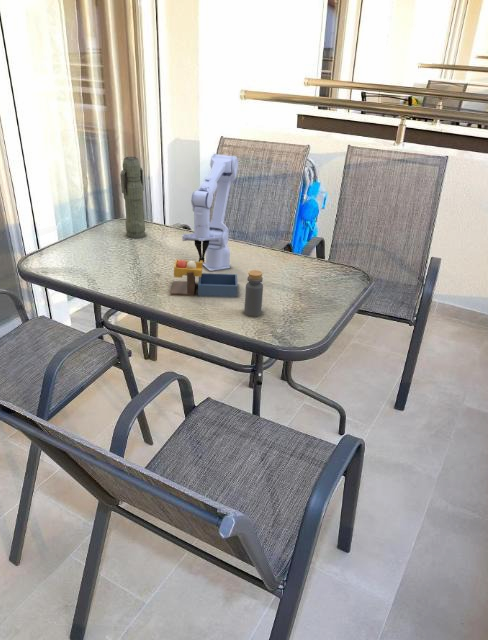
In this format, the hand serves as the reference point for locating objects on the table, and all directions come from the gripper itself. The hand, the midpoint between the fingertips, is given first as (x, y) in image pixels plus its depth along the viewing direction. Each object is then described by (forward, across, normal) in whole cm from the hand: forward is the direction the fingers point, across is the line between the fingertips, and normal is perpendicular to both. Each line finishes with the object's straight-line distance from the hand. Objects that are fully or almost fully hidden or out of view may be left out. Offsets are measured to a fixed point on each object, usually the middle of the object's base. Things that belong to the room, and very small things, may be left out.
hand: (201, 259), depth 194 cm
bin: (+9, +6, -9) cm, 14 cm away
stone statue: (+8, -33, +51) cm, 62 cm away
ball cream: (-1, -4, -9) cm, 10 cm away
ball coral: (-1, -7, -9) cm, 12 cm away
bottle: (+9, +19, -28) cm, 35 cm away
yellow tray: (+3, -4, -6) cm, 8 cm away
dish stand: (+9, -6, -9) cm, 14 cm away
